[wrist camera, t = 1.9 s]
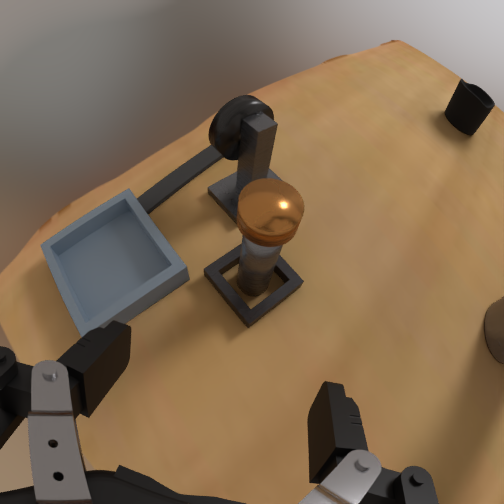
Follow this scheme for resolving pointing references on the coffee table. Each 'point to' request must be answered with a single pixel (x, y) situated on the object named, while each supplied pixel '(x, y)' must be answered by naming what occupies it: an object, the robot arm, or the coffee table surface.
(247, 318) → the frame
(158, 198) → the strip
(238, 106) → the pulley stand
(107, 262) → the tray
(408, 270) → the coffee table surface
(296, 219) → the pin
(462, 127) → the pen holder
